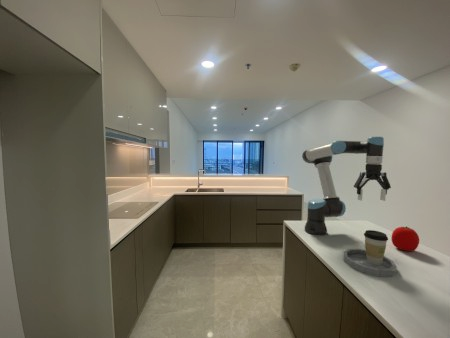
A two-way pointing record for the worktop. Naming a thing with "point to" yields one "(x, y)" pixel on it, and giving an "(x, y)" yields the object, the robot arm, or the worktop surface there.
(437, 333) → the worktop surface
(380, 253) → the coffee cup
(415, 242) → the tomato
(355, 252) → the tray
